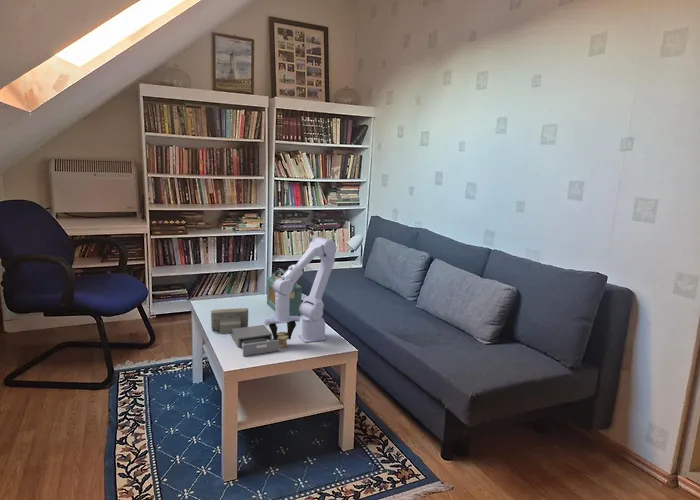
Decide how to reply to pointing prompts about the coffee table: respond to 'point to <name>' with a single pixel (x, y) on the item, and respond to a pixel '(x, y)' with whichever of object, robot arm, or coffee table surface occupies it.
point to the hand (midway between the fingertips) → (282, 339)
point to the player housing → (250, 333)
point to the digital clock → (229, 319)
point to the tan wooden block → (282, 343)
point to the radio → (294, 295)
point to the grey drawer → (259, 346)
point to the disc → (282, 336)
